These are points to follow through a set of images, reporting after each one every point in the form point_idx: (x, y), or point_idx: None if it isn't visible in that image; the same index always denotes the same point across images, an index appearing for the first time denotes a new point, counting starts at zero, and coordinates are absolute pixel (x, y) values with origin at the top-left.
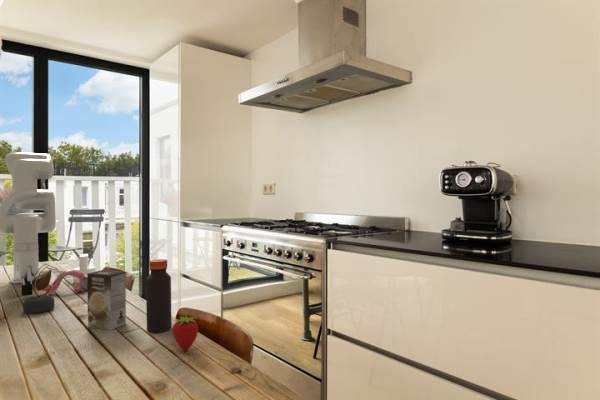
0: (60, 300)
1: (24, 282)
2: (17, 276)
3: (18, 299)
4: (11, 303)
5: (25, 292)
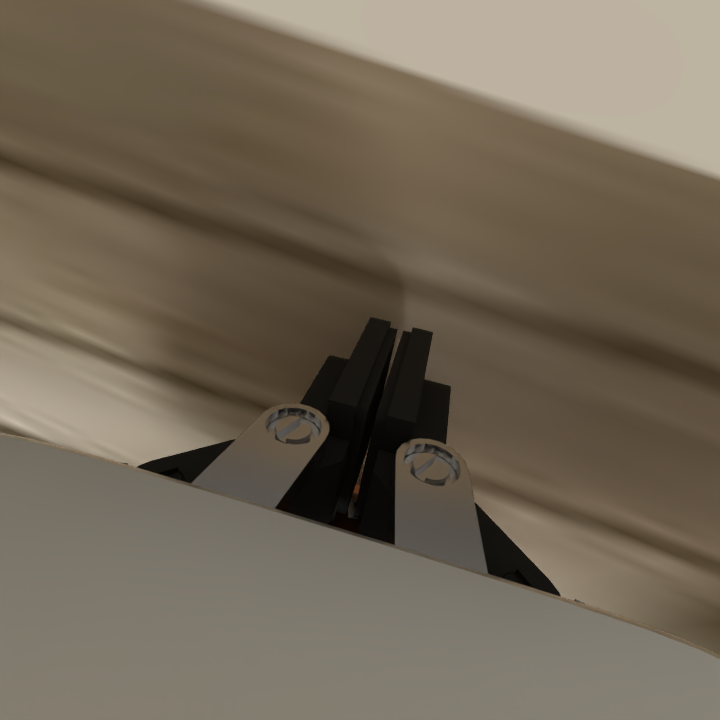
0: (44, 434)
1: (232, 454)
2: (375, 548)
3: (418, 263)
4: (246, 106)
5: (328, 360)
